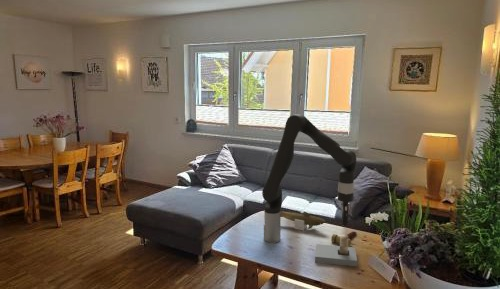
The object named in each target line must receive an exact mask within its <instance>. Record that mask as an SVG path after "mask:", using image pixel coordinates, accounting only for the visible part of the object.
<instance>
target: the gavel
mask: <svg viewBox="0 0 500 289" xmlns="http://www.w3.org/2000/svg"><path fill="white" fill-rule="evenodd" d="M346 235H348V247H351V245H352V240H351V238H354V237H355V236H356V235H357V231H351V232H349V233H348V234H346ZM330 240H331V242H332V243H334V244H335V243H336V244H338V245H340V235H337V234H334V233H333V234H332V235H331V239H330Z"/></svg>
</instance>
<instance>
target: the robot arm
mask: <svg viewBox="0 0 500 289" xmlns="http://www.w3.org/2000/svg"><path fill="white" fill-rule="evenodd" d="M300 132H301V133H303V134H304V135H306V136H308V137H310V139H312V140H313V142H314V143H315V144H316V145H317V146H318V147H319V148H320V149H321V150H322V151H324V152H326V153H327V154H329V155H330V157H332V159H333V160H334V161H335V162H336V163H337V164H339V165H340V166H341V169H340V171H339V173H338V184H337V200H338V201H340V208H341V219H342V226H345V227H346V226H348V223H349V222H348V219H349V214H350V207H351V205H350V203H351V202H353V201H354V198H355V197H354V194H355V193H354V192H355V185H354V180H355V169H356V166H357V155H356V152H354V151H353V150H351V149H347V150H345V149H343V148H342V147H341V146H340V143H339V142H337V141H335V140H334V139H333V138H332V137H330V136H329V135H327V134H325V132H323V131H321V130H320V129H319V128H317V127H316V125H314V124H313V123H312V122H311V121H310V120H309V119H308V118H307V117H306V116H304V115H303V114H292V115H290V116H289V117H288V118H287V119H286V121H285V126H284V131H283V134H282V138H281V141H280V144H279V145H278V149H277V152H276V154H275V156H274V159H273V164H272V166H271V169H270V173H269V175H268V178H267V179H266V182H265V185H263V188H262V192H261V194H262V198H263V200H264V201H266V202H265V205H264V207H263V208H264V210H263V211H264V216H263V217H264V222H263V223H264V224H263V242H267V243H271V244H272V243H279V242H280V241H281V237H282V236H281V217H280V210H281V209H282V204H283V203H282V202H283V190H282V187H281V182H282V180H283V178H284V177H285V176H286V174H287V172H288V171H289V169H290V168H291V164H292V162H293V160H294V155H295V154H294V153H295V142H296V139H297V136H298V134H299V133H300Z"/></svg>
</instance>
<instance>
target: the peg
mask: <svg viewBox="0 0 500 289" xmlns="http://www.w3.org/2000/svg"><path fill="white" fill-rule="evenodd" d="M339 236H340V244H339V246H340V251H339V253H340V255H346V256H348V235H347V234H344V233H343V234H340V235H339Z"/></svg>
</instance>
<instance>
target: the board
mask: <svg viewBox="0 0 500 289" xmlns="http://www.w3.org/2000/svg"><path fill="white" fill-rule="evenodd" d="M355 247H356V246H355ZM355 247H353V246H349V247H348V256H346V255H340V253H339V251H340V245H333V244H332V245H329V244H322V243H321V244H320V243H315V255H314V263H319V264H321V263H322V264H328V265H330V264H331V265H338V266H347V265H348V266H349V267H358V258H357V254H356V248H355Z"/></svg>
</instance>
